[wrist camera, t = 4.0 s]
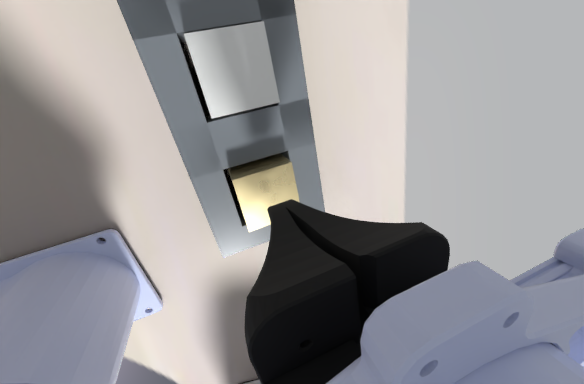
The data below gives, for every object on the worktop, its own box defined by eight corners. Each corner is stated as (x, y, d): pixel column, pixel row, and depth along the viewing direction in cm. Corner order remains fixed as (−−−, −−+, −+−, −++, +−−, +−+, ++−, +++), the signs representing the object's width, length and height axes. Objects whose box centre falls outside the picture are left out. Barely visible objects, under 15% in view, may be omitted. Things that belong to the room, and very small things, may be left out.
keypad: (219, 235, 19) (223, 258, 17) (43, -208, 10) (-15, -317, 7) (310, 203, 21) (326, 219, 19) (240, -197, 11) (252, -282, 9)
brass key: (241, 211, 18) (249, 232, 15) (226, 165, 16) (232, 180, 14) (287, 195, 19) (301, 213, 16) (277, 150, 17) (291, 162, 14)
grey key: (209, 113, 15) (211, 118, 12) (186, 44, 13) (183, 33, 10) (266, 99, 15) (279, 102, 13) (251, 33, 14) (263, 21, 11)
